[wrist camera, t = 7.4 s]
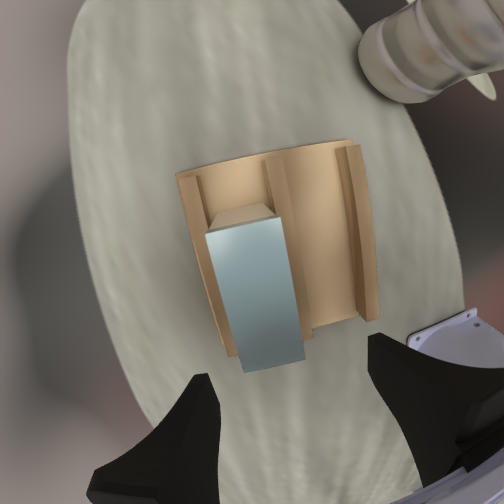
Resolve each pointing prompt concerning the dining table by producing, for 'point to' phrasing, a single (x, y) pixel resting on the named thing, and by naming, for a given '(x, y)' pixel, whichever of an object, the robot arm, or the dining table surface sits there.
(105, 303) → the dining table surface
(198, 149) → the dining table surface
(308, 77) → the dining table surface
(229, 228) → the tall pale blue block
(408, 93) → the plastic bottle
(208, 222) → the rack
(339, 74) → the dining table surface
